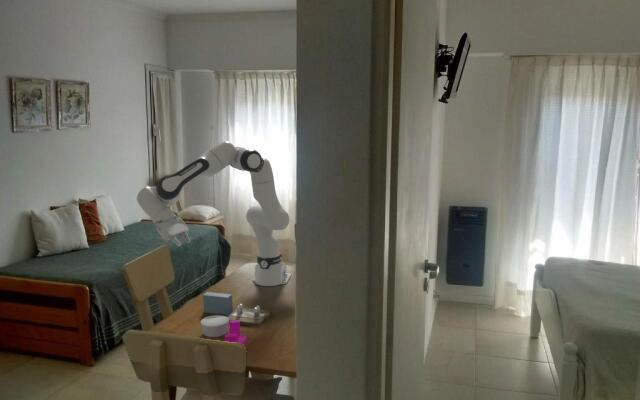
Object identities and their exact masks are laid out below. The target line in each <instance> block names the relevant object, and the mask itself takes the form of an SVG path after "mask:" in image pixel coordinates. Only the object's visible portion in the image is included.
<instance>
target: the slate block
mask: <svg viewBox="0 0 640 400" xmlns="http://www.w3.org/2000/svg"><path fill="white" fill-rule="evenodd" d="M202 301H203V302H202V303H203V304H202V305H203V313H208V314H216V315H222V316H228V315H230V314H231V313H232V312H234V310H233V294H231V293H220V292H212V291H207V292H205V293H203V294H202Z"/></svg>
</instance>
